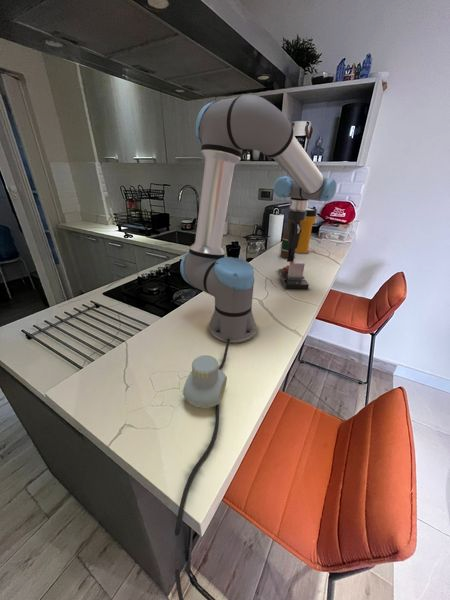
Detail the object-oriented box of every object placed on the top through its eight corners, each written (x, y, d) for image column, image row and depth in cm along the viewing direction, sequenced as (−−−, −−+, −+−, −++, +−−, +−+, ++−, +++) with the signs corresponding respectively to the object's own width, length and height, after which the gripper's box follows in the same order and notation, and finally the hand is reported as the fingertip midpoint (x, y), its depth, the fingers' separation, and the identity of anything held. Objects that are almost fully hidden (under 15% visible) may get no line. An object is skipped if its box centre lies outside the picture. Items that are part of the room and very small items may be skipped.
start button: (293, 271, 124) (294, 268, 123) (286, 271, 124) (286, 267, 123) (292, 268, 127) (292, 265, 127) (284, 268, 127) (285, 265, 126)
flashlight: (300, 209, 144) (298, 206, 152) (294, 253, 156) (291, 248, 165) (318, 209, 143) (315, 207, 152) (310, 254, 155) (307, 249, 164)
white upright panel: (300, 278, 117) (303, 261, 113) (301, 280, 115) (304, 263, 111) (287, 278, 117) (289, 260, 113) (288, 280, 115) (291, 262, 111)
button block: (299, 279, 123) (300, 273, 121) (282, 278, 123) (283, 273, 121) (294, 271, 131) (295, 265, 130) (278, 270, 131) (279, 265, 130)
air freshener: (215, 418, 56) (215, 385, 51) (180, 409, 58) (177, 376, 53) (228, 381, 65) (229, 351, 60) (198, 375, 67) (196, 344, 62)
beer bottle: (277, 255, 153) (282, 213, 141) (288, 253, 156) (293, 212, 144) (285, 259, 147) (291, 216, 135) (296, 257, 150) (302, 215, 138)
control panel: (308, 289, 113) (309, 284, 111) (285, 289, 112) (285, 283, 111) (301, 279, 122) (302, 274, 121) (280, 279, 122) (281, 274, 121)
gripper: (286, 207, 118) (279, 256, 129) (292, 212, 106) (285, 265, 118) (302, 208, 118) (294, 257, 129) (310, 212, 107) (301, 266, 118)
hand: (290, 261), depth 123 cm, fingers closed
